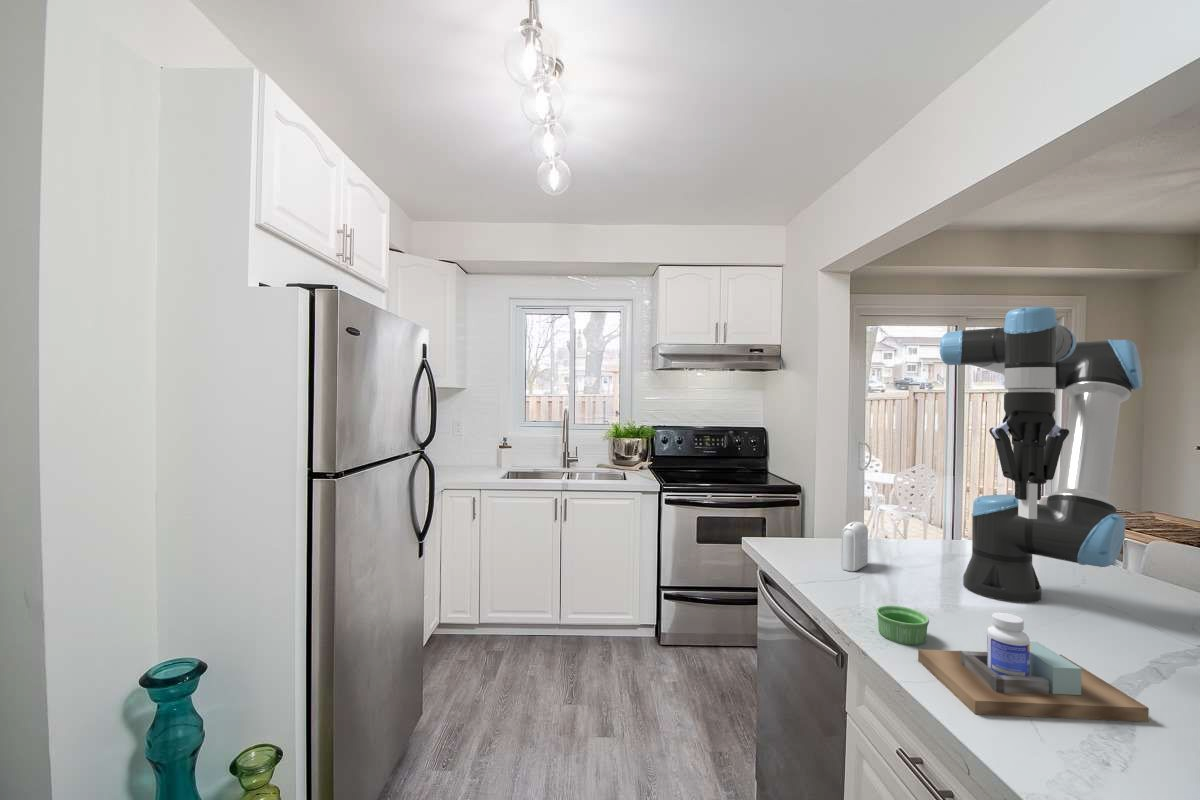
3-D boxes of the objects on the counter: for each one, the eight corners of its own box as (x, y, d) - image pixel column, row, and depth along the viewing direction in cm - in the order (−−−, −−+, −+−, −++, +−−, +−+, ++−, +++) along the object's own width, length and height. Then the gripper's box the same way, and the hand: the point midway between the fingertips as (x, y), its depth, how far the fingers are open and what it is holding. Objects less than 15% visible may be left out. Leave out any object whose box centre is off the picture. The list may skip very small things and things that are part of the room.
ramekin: (906, 650, 99) (907, 627, 99) (865, 631, 107) (865, 609, 107) (939, 642, 103) (940, 619, 103) (897, 623, 111) (897, 602, 111)
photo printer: (853, 561, 152) (854, 518, 152) (869, 564, 149) (870, 520, 149) (839, 569, 145) (839, 523, 145) (855, 573, 142) (855, 526, 142)
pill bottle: (1037, 689, 82) (1038, 626, 82) (997, 685, 83) (998, 623, 83) (1016, 671, 88) (1017, 612, 88) (980, 667, 89) (980, 609, 89)
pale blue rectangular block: (1037, 665, 89) (1037, 641, 89) (1081, 695, 81) (1081, 668, 81) (1012, 664, 90) (1012, 640, 90) (1053, 693, 81) (1053, 667, 81)
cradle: (1060, 666, 94) (1061, 643, 94) (1148, 721, 78) (1148, 694, 78) (918, 660, 95) (918, 638, 95) (975, 714, 79) (975, 687, 79)
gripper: (1050, 391, 104) (1048, 513, 104) (979, 391, 104) (978, 512, 105) (1082, 391, 96) (1080, 522, 96) (1006, 390, 97) (1004, 521, 97)
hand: (1027, 517), depth 100 cm, fingers closed
